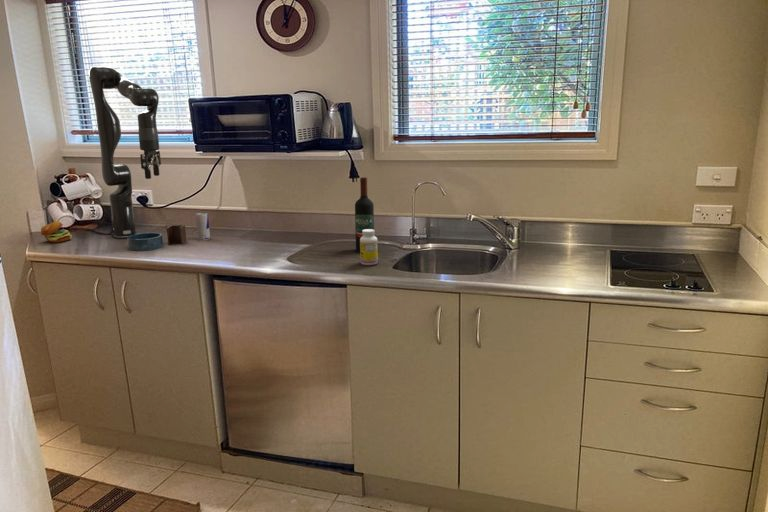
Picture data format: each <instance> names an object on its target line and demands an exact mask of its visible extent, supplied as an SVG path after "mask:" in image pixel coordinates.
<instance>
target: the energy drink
mask: <svg viewBox="0 0 768 512" xmlns="http://www.w3.org/2000/svg"><path fill="white" fill-rule="evenodd" d="M195 224H196V234H197V235H196V236H197V240H198V241H207V240H210V239H211V233H210V232H211V231H210V220H209V214H208V212H197V213H195Z"/></svg>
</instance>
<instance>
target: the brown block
mask: <svg viewBox="0 0 768 512" xmlns="http://www.w3.org/2000/svg"><path fill="white" fill-rule="evenodd" d="M166 235H167V236H166V237H167V244H168V245H167V246H174V245H175V246H183V245H184V244H185V243H187V241H188V240H187V232H186V225H185V224H171V225H169V226H167V227H166Z"/></svg>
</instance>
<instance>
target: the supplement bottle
mask: <svg viewBox="0 0 768 512" xmlns="http://www.w3.org/2000/svg"><path fill="white" fill-rule="evenodd" d="M375 233H376V231H375V229H374V230H373V229H365V230H362V234H363V237H361V238H360V252H359V257H360V258H359V261H360V262H359V263H360V264H361V265H363V266H376V265H377V264H378V262H379V253H378V251H379V250H378V249H379V248H378V246H379V245H378V244H379V243H378V237H377V236H375V235H376V234H375Z"/></svg>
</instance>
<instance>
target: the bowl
mask: <svg viewBox="0 0 768 512" xmlns="http://www.w3.org/2000/svg"><path fill="white" fill-rule="evenodd" d="M126 239H127V248H128V250H129V251H132V252H147V251H154V250H158V249H161V248H163V247H164V240H163V234H162V233H160V232H139V233H136V234H134V235H130V236H128V237H127V238H126Z"/></svg>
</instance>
